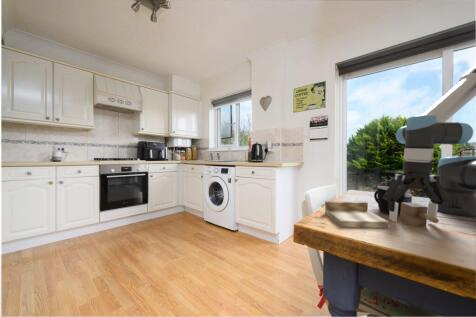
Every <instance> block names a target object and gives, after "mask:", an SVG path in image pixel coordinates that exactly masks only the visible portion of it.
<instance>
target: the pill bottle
mask: <svg viewBox="0 0 476 317" xmlns="http://www.w3.org/2000/svg"><path fill="white" fill-rule="evenodd" d="M398 188H399V187H398ZM410 192H411V189H408V190H407V191H406V192H405V198H404V203H413V201H412V200H413V195H412V194H411V193H410Z"/></svg>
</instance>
